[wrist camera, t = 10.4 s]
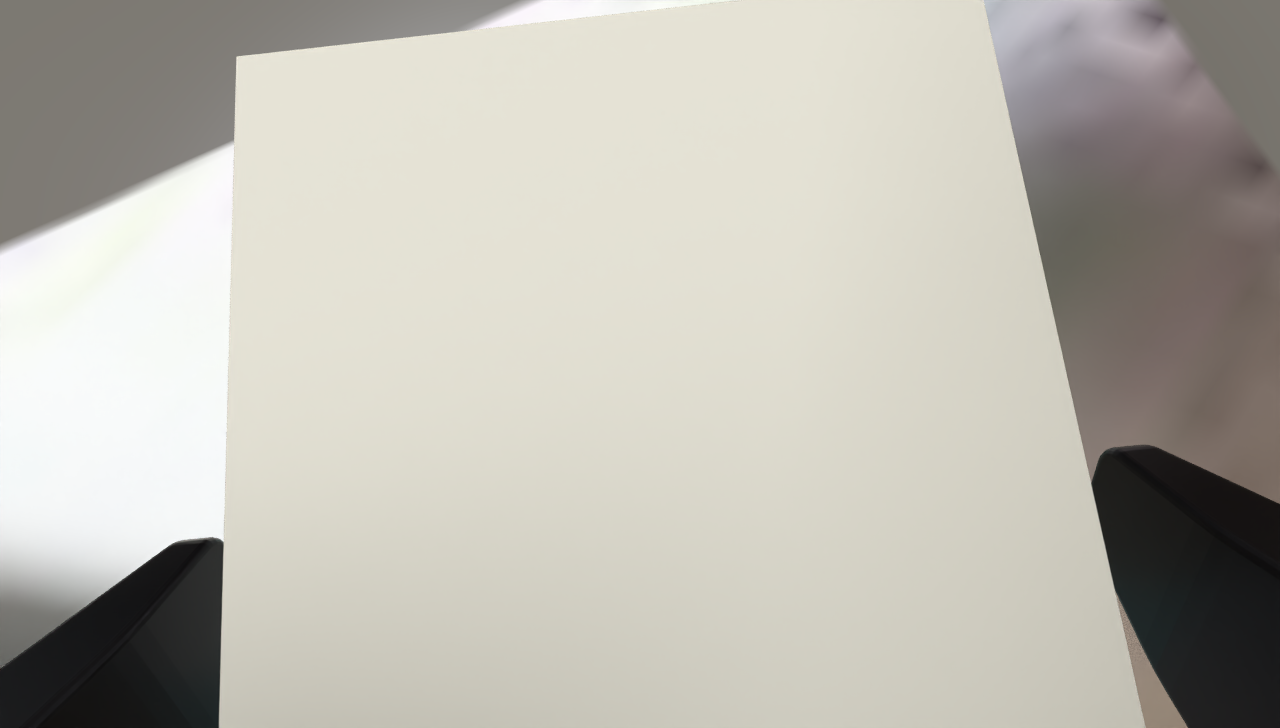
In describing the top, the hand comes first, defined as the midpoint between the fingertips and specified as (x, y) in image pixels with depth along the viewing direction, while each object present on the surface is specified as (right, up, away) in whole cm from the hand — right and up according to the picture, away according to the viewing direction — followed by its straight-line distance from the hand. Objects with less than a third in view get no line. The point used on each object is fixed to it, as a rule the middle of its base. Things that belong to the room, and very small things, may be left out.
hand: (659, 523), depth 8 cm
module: (0, -1, +9) cm, 9 cm away
